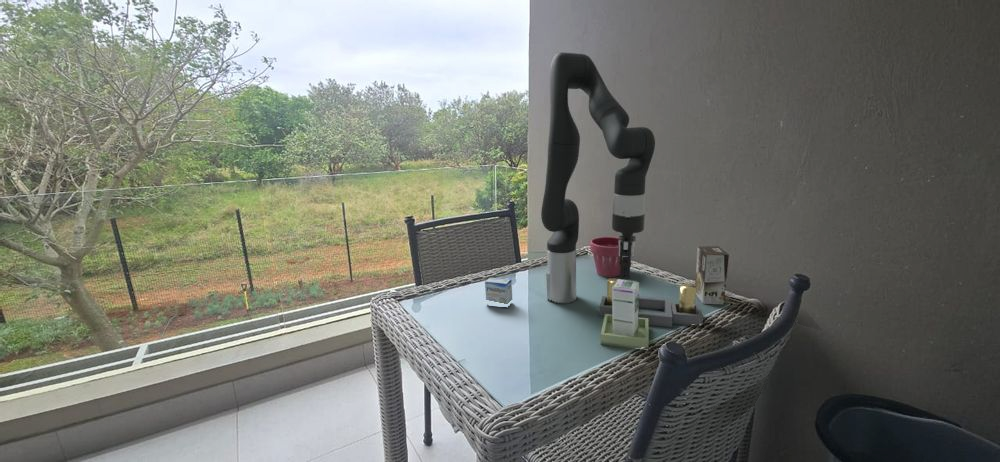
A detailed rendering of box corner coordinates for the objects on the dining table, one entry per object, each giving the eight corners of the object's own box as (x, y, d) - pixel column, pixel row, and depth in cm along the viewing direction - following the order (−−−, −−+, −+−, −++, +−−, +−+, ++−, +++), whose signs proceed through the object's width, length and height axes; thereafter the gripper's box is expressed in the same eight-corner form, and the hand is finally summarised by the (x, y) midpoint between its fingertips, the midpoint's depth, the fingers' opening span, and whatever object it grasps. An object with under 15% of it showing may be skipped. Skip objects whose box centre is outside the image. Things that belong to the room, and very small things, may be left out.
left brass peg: (606, 313, 115) (606, 282, 113) (607, 307, 119) (607, 277, 116) (620, 315, 114) (620, 284, 111) (620, 309, 118) (621, 278, 115)
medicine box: (486, 306, 125) (484, 281, 123) (491, 300, 129) (489, 276, 127) (508, 308, 122) (506, 283, 120) (513, 303, 126) (511, 278, 124)
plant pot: (635, 271, 147) (636, 239, 143) (618, 283, 137) (618, 249, 134) (601, 264, 156) (601, 234, 153) (583, 274, 147) (583, 243, 143)
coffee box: (725, 304, 116) (730, 254, 112) (702, 304, 117) (706, 254, 113) (715, 292, 125) (719, 245, 121) (693, 292, 126) (697, 245, 122)
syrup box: (634, 341, 98) (636, 289, 95) (611, 336, 101) (612, 285, 98) (638, 330, 103) (640, 280, 99) (616, 326, 106) (617, 277, 102)
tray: (600, 344, 99) (600, 334, 98) (604, 323, 110) (605, 313, 109) (648, 350, 95) (648, 340, 94) (648, 328, 106) (648, 318, 105)
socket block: (598, 318, 112) (598, 309, 112) (603, 301, 123) (603, 293, 122) (703, 330, 103) (704, 320, 102) (697, 310, 113) (698, 301, 113)
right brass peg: (678, 321, 108) (680, 288, 106) (677, 314, 112) (679, 283, 109) (694, 322, 107) (696, 289, 104) (692, 316, 111) (695, 284, 108)
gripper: (615, 205, 101) (613, 262, 105) (609, 217, 88) (607, 282, 93) (645, 206, 98) (641, 264, 103) (644, 219, 86) (640, 285, 90)
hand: (625, 272), depth 98 cm, fingers open, 8 cm apart
